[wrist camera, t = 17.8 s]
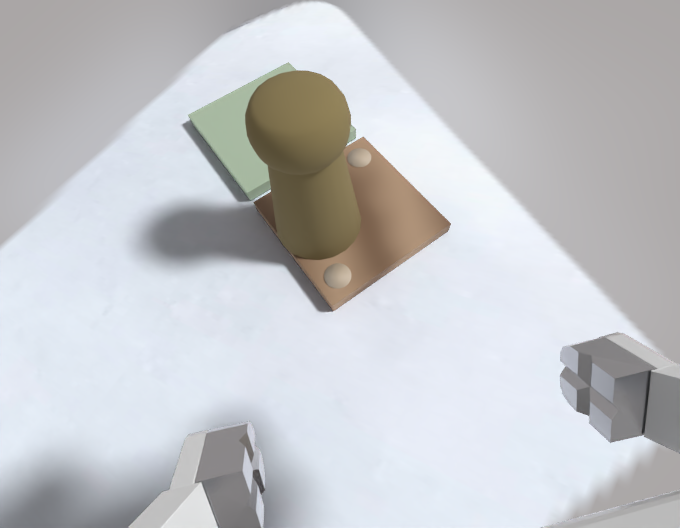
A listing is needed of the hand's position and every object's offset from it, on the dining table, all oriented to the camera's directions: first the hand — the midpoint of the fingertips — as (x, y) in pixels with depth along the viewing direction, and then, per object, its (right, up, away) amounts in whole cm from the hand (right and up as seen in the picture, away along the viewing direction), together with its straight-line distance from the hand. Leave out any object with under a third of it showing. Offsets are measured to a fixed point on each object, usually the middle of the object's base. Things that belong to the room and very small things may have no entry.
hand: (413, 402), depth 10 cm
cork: (-3, +6, +18) cm, 20 cm away
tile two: (-1, +7, +19) cm, 20 cm away
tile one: (-8, +15, +23) cm, 29 cm away
